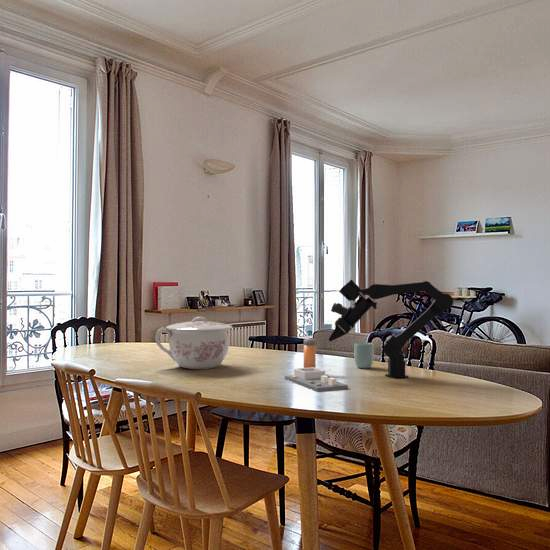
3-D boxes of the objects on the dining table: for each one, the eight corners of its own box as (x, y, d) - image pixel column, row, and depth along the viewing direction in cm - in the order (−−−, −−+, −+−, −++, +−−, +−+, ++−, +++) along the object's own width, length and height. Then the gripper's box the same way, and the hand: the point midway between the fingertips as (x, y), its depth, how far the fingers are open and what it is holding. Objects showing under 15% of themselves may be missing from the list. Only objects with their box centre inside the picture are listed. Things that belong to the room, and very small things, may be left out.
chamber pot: (245, 365, 234) (245, 316, 234) (205, 375, 211) (205, 320, 211) (193, 359, 249) (193, 313, 249) (149, 368, 225) (150, 317, 225)
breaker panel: (348, 388, 187) (348, 377, 187) (316, 391, 182) (316, 380, 182) (313, 376, 209) (313, 366, 209) (284, 379, 204) (284, 368, 204)
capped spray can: (317, 373, 215) (317, 340, 215) (307, 374, 213) (307, 340, 213) (311, 372, 219) (312, 338, 219) (301, 372, 217) (301, 339, 217)
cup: (351, 368, 228) (351, 343, 229) (357, 365, 235) (358, 342, 235) (369, 370, 225) (370, 345, 225) (375, 367, 232) (376, 343, 232)
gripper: (345, 294, 224) (319, 322, 226) (340, 296, 206) (311, 326, 208) (366, 313, 222) (339, 342, 224) (362, 317, 204) (333, 347, 206)
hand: (331, 339), depth 216 cm, fingers open, 9 cm apart
